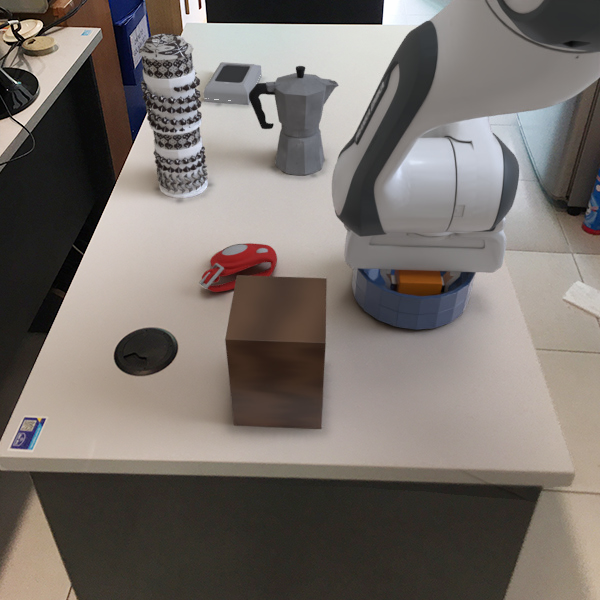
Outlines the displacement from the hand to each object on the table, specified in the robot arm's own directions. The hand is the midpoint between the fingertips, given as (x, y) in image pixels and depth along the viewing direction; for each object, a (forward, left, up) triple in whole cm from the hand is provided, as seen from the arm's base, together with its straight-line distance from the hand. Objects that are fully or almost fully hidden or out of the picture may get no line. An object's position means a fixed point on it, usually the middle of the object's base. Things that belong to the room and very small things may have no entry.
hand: (415, 290), depth 86 cm
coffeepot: (+33, -25, -3) cm, 42 cm away
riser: (+8, +23, -2) cm, 24 cm away
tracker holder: (+25, +7, -3) cm, 26 cm away
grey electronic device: (+61, -47, -3) cm, 77 cm away
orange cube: (0, 0, -2) cm, 2 cm away
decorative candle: (+46, -9, -3) cm, 47 cm away
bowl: (+1, -2, -2) cm, 3 cm away
